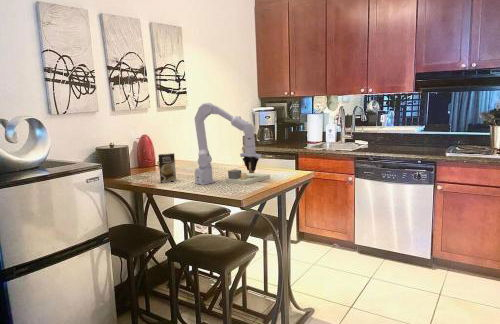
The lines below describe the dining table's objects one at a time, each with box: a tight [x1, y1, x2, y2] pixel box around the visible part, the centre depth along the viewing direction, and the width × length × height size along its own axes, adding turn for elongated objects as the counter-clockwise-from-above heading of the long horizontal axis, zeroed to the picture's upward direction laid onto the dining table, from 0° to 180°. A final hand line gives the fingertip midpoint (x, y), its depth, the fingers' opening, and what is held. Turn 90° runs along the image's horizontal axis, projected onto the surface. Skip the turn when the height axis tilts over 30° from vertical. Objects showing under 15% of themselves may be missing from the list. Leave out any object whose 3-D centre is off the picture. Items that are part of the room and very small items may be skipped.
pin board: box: [225, 172, 271, 186], centre depth 210 cm, size 20×15×5 cm
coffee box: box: [158, 153, 177, 183], centre depth 219 cm, size 9×6×16 cm
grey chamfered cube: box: [227, 169, 242, 179], centre depth 208 cm, size 5×5×4 cm
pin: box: [248, 162, 255, 173], centre depth 208 cm, size 3×3×6 cm
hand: (251, 170), depth 208 cm, fingers closed on pin, 3 cm apart
